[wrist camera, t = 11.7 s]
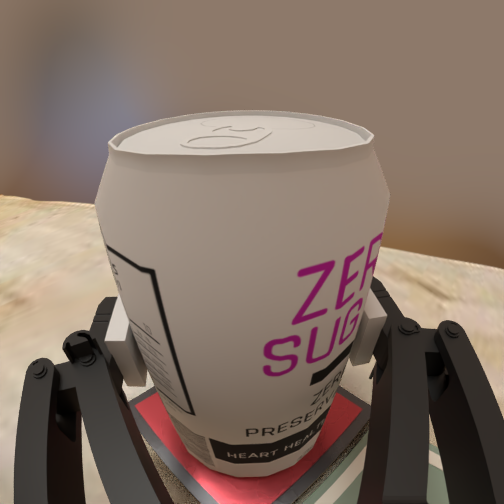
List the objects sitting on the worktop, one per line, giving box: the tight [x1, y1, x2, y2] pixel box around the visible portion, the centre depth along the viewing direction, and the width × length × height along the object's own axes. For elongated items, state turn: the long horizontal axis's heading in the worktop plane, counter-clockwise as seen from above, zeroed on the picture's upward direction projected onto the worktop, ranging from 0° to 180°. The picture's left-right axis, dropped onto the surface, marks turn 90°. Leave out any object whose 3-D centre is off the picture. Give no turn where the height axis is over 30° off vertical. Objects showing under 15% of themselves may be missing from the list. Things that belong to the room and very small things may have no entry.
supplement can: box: [95, 110, 390, 477], centre depth 12 cm, size 8×8×15 cm
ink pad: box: [128, 386, 371, 504], centre depth 16 cm, size 11×11×2 cm
